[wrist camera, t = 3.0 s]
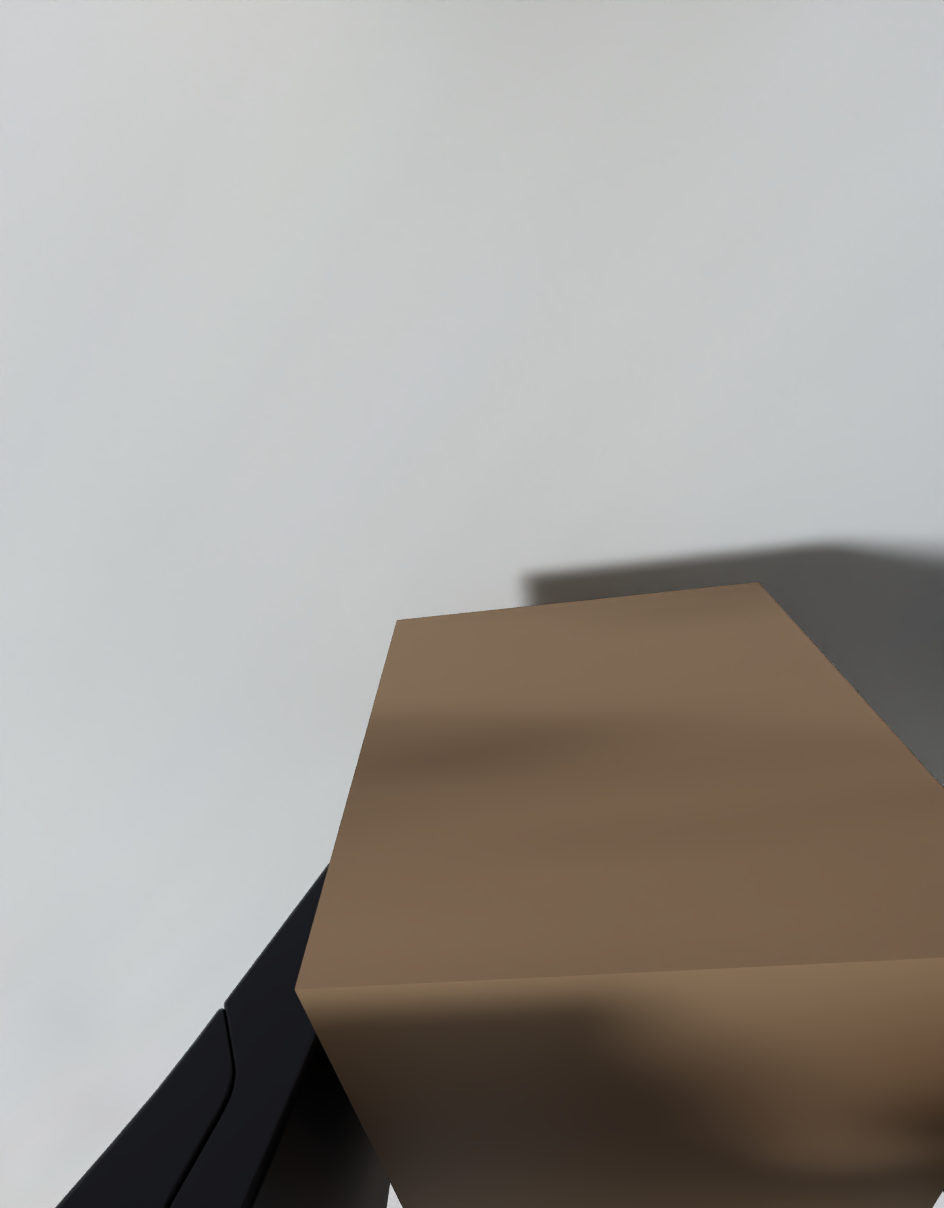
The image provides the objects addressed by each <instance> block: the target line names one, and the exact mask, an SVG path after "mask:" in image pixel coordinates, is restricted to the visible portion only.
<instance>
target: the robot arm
mask: <svg viewBox="0 0 944 1208" xmlns="http://www.w3.org/2000/svg"><path fill="white" fill-rule="evenodd" d="M328 867H329V864H328V865H327V867H326V868H325V869H324V871H323V872H322V873H321V875H320V876H319V877H318V879H317V880H316V881H315V883H314V884H313V885H312V887H311V888H310V889H309V891H308V892H307V893H306V895H305V896H304V897H303V899H302V900H301V901H300V903H299V904H298V905H297V907H296V908H295V909H294V910H293V912H292V913H291V914H290V916H289V917H288V918H287V920H286V921H285V922H284V924H283V925H282V926H281V928H280V929H279V930H278V932H277V933H276V934H275V936H274V937H273V938H272V940H271V941H270V942H269V944H268V945H267V946H266V948H265V949H264V950H263V952H262V953H261V954H260V956H259V957H258V958H257V960H256V961H255V962H254V964H253V965H252V966H251V968H250V969H249V970H248V972H247V973H246V974H245V976H244V977H243V978H242V980H241V981H240V982H239V984H238V985H237V986H236V988H235V989H234V990H233V992H232V993H231V994H230V996H229V997H228V998H227V1000H226V1001H225V1003H224V1008H225V1009H223V1008H221V1009H219V1010H218V1011H217V1012H216V1014H215V1015H214V1016H213V1018H212V1019H211V1020H210V1022H209V1023H208V1024H207V1026H206V1027H205V1028H204V1030H203V1031H202V1032H201V1034H200V1035H199V1036H198V1038H197V1039H196V1040H195V1042H194V1043H193V1044H192V1045H191V1047H190V1048H189V1049H188V1051H187V1052H186V1053H185V1054H184V1056H183V1057H182V1058H181V1060H180V1061H179V1062H178V1063H177V1065H176V1066H175V1067H174V1068H173V1070H172V1071H171V1072H170V1074H169V1075H168V1076H167V1077H166V1079H165V1080H164V1081H163V1082H162V1084H161V1085H160V1086H159V1088H158V1089H157V1090H156V1091H155V1092H154V1094H153V1095H152V1096H151V1097H150V1098H149V1100H148V1101H147V1102H146V1103H145V1104H144V1105H143V1107H142V1108H141V1109H140V1110H139V1111H138V1113H137V1114H136V1115H135V1116H134V1117H133V1118H132V1120H131V1121H130V1122H129V1123H128V1124H127V1126H126V1127H125V1128H124V1129H123V1130H122V1131H121V1133H120V1134H119V1135H118V1136H117V1137H116V1139H115V1140H114V1141H113V1142H112V1143H111V1144H110V1146H109V1147H108V1148H107V1149H106V1150H105V1151H104V1153H103V1154H102V1155H101V1156H100V1157H99V1158H98V1159H97V1161H96V1162H95V1163H94V1164H93V1165H92V1166H91V1167H90V1169H89V1170H88V1171H87V1172H86V1173H85V1174H84V1175H83V1177H82V1178H81V1179H80V1180H79V1181H78V1182H77V1183H76V1185H75V1186H74V1187H73V1188H72V1189H71V1190H70V1191H69V1193H68V1194H67V1195H66V1196H65V1197H64V1198H63V1199H62V1201H61V1202H60V1203H59V1204H58V1205H57V1206H56V1207H55V1208H387V1201H388V1194H389V1187H390V1181H389V1179H388V1177H387V1175H386V1173H385V1171H384V1169H383V1167H382V1165H381V1163H380V1161H379V1159H378V1157H377V1155H376V1153H375V1151H374V1149H373V1147H372V1145H371V1143H370V1141H369V1139H368V1137H367V1135H366V1133H365V1131H364V1129H363V1127H362V1125H361V1123H360V1121H359V1119H358V1116H357V1114H356V1112H355V1110H354V1108H353V1106H352V1104H351V1102H350V1100H349V1098H348V1096H347V1094H346V1092H345V1090H344V1088H343V1086H342V1084H341V1082H340V1080H339V1078H338V1076H337V1074H336V1072H335V1070H334V1068H333V1066H332V1064H331V1062H330V1060H329V1058H328V1056H327V1054H326V1052H325V1050H324V1048H323V1046H322V1044H321V1042H320V1040H319V1038H318V1036H317V1034H316V1032H315V1030H314V1028H313V1026H312V1024H311V1022H310V1020H309V1018H308V1016H307V1014H306V1012H305V1010H304V1008H303V1006H302V1004H301V1002H300V1000H299V998H298V996H297V994H296V992H295V986H296V982H297V979H298V975H299V972H300V968H301V964H302V961H303V957H304V954H305V950H306V946H307V943H308V939H309V935H310V932H311V928H312V925H313V921H314V917H315V914H316V910H317V907H318V903H319V899H320V896H321V892H322V889H323V885H324V881H325V878H326V874H327V871H328ZM943 1192H944V1190H943Z"/></svg>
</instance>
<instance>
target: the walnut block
mask: <svg viewBox="0 0 944 1208" xmlns="http://www.w3.org/2000/svg"><path fill="white" fill-rule="evenodd" d="M295 992H296V994H297V996H298V998H299V1000H300V1002H301V1004H302V1006H303V1008H304V1010H305V1012H306V1014H307V1016H308V1018H309V1020H310V1022H311V1024H312V1026H313V1028H314V1030H315V1032H316V1034H317V1036H318V1038H319V1040H320V1042H321V1044H322V1046H323V1048H324V1050H325V1052H326V1054H327V1056H328V1058H329V1060H330V1062H331V1064H332V1066H333V1068H334V1070H335V1072H336V1074H337V1076H338V1078H339V1080H340V1082H341V1084H342V1086H343V1088H344V1090H345V1092H346V1094H347V1096H348V1098H349V1100H350V1102H351V1104H352V1106H353V1108H354V1110H355V1112H356V1114H357V1116H358V1119H359V1121H360V1123H361V1125H362V1127H363V1129H364V1131H365V1133H366V1135H367V1137H368V1139H369V1141H370V1143H371V1145H372V1147H373V1149H374V1151H375V1153H376V1155H377V1157H378V1159H379V1161H380V1163H381V1165H382V1167H383V1169H384V1171H385V1173H386V1175H387V1177H388V1179H389V1181H390V1183H391V1185H392V1187H393V1189H394V1191H395V1193H396V1195H397V1197H398V1199H399V1201H400V1203H401V1205H402V1207H403V1208H932V1207H933V1206H934V1204H935V1203H936V1201H937V1199H938V1198H939V1196H940V1194H941V1193H942V1191H943V1190H944V788H943V787H942V786H941V784H940V783H939V782H938V781H937V780H936V779H935V778H934V777H933V776H932V774H931V773H930V772H929V771H928V770H927V769H926V768H925V767H924V766H923V764H922V763H921V762H920V761H919V760H918V759H917V758H916V757H915V756H914V754H913V753H912V752H911V751H910V750H909V749H908V748H907V747H906V746H905V744H904V743H903V742H902V741H901V740H900V739H899V738H898V737H897V736H896V734H895V733H894V732H893V731H892V730H891V729H890V728H889V727H888V726H887V724H886V723H885V722H884V721H883V720H882V719H881V718H880V717H879V716H878V714H877V713H876V712H875V711H874V710H873V709H872V708H871V707H870V706H869V704H868V703H867V702H866V701H865V700H864V699H863V698H862V697H861V696H860V694H859V693H858V692H857V691H856V690H855V689H854V688H853V687H852V686H851V684H850V683H849V682H848V681H847V680H846V679H845V678H844V677H843V676H842V674H841V673H840V672H839V671H838V670H837V669H836V668H835V667H834V666H833V664H832V663H831V662H830V661H829V660H828V659H827V658H826V657H825V656H824V654H823V653H822V652H821V651H820V650H819V649H818V648H817V647H816V646H815V644H814V643H813V642H812V641H811V640H810V639H809V638H808V637H807V635H806V634H805V633H804V632H803V631H802V630H801V629H800V628H799V627H798V625H797V624H796V623H795V622H794V621H793V620H792V619H791V618H790V617H789V615H788V614H787V613H786V612H785V611H784V610H783V609H782V608H781V607H780V605H779V604H778V603H777V602H776V601H775V600H774V599H773V598H772V597H771V595H770V594H769V593H768V592H767V591H766V590H765V589H764V588H763V587H762V585H761V584H760V583H759V582H754V583H744V584H735V585H725V586H716V587H706V588H697V589H687V590H678V591H668V592H659V593H649V594H640V595H630V596H621V597H611V598H602V599H593V600H583V601H574V602H564V603H555V604H545V605H536V606H526V607H517V608H507V609H498V610H488V611H479V612H469V613H460V614H450V615H441V616H432V617H422V618H413V619H403V620H397V622H396V625H395V629H394V633H393V636H392V640H391V643H390V647H389V651H388V654H387V658H386V662H385V665H384V669H383V672H382V676H381V680H380V683H379V687H378V690H377V694H376V698H375V701H374V705H373V708H372V712H371V716H370V719H369V723H368V726H367V730H366V734H365V737H364V741H363V744H362V748H361V752H360V755H359V759H358V762H357V766H356V770H355V773H354V777H353V780H352V784H351V788H350V791H349V795H348V798H347V802H346V806H345V809H344V813H343V817H342V820H341V824H340V827H339V831H338V835H337V838H336V842H335V845H334V849H333V853H332V856H331V860H330V863H329V867H328V871H327V874H326V878H325V881H324V885H323V889H322V892H321V896H320V899H319V903H318V907H317V910H316V914H315V917H314V921H313V925H312V928H311V932H310V935H309V939H308V943H307V946H306V950H305V954H304V957H303V961H302V964H301V968H300V972H299V975H298V979H297V982H296V986H295Z"/></svg>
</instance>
